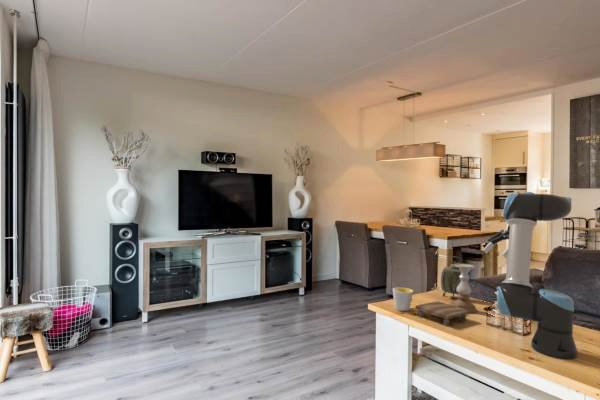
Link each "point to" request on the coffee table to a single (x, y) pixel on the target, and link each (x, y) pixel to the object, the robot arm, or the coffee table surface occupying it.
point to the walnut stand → (442, 311)
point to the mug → (402, 298)
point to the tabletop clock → (450, 278)
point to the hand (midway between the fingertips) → (493, 254)
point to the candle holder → (464, 289)
